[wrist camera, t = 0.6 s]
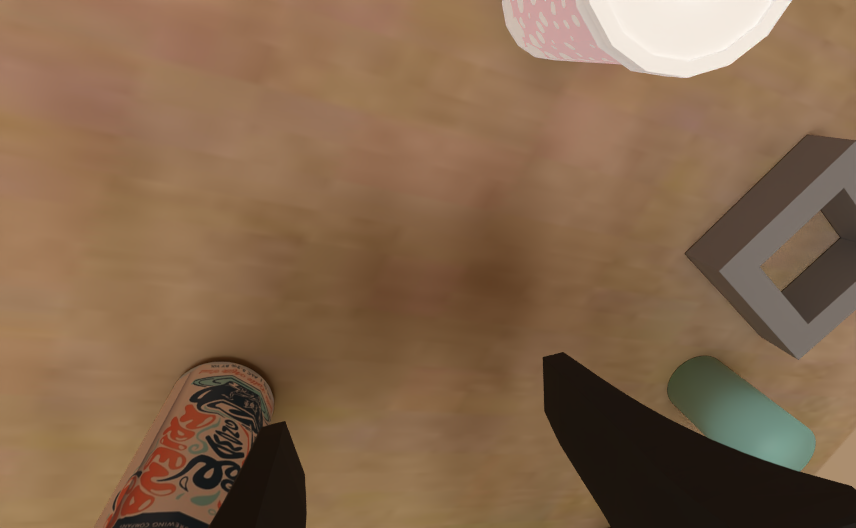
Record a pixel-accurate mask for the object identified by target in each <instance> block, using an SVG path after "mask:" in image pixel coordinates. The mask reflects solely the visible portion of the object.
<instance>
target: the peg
mask: <svg viewBox="0 0 856 528" xmlns="http://www.w3.org/2000/svg"><path fill="white" fill-rule="evenodd" d="M667 391H668V397H669V399H670V401H671V402H672V403H673V404H674V405H675V406H676V407H677V408H678V409H679V410H680V411H681V412H682V413H683V414H684V415H685V416H686V417H687V418H688V419H689V420H690V421H691V422H692V423H693V424H694V425H695V426H696V427H697V428H698V429H699V430H700V431H701V432H702V433H703V434H704V435H705V436H706V437H707V438H710V439H712V440H714V441H717V442H719V443H721V444H724V445H726V446H729V447H731V448H734V449H736V450H739V451H741V452H744V453H746V454H749V455H752V456H755V457H757V458H760V459H763V460H766V461H769V462H772V463H775V464H778V465H781V466H784V467H787V468H790V469H793V470H796V471H799V472H800V471H801V470H802V469H803V468H804V467H805V466H806V465H807V463H808V462H809V460H810V459H811V457H812V455H813V453H814V450H815V443H816V441H815V436H814V434H813V432H812V431H811V430H810V429H809V428H807V427H806V426H805V425H803V424H802V423H801V422H800V421H798V420H797V419H796V418H794V417H793V416H792V415H790V414H789V413H788V412H786V411H785V410H784V409H782V408H781V407H780V406H778V405H777V404H776V403H774V402H773V401H772V400H770V399H769V398H768V397H766V396H765V395H764V394H762V393H761V392H760V391H758V390H757V389H756V388H754V387H753V386H752V385H751V384H749V383H748V382H747V381H745V380H744V379H743V378H741V377H740V376H739V375H737V374H736V373H735V372H733V371H732V370H731V369H729V368H728V367H727V366H725V365H724V364H723V363H721V362H720V361H719V360H717V359H716V358H714V357H711V356H699V357H695V358H692V359H690V360H688V361H686V362H685V363H683V364H682V365H681V366H680V367H678V368H677V370H676V371H675V372H674V373H673V375H672V376H671V378H670V380H669V383H668V390H667Z"/></svg>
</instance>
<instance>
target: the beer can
mask: <svg viewBox="0 0 856 528" xmlns="http://www.w3.org/2000/svg"><path fill="white" fill-rule="evenodd" d="M273 409H274V398H273V395H272V392H271V389H270V387H269V385H268V384H267V383H266V381H265V380H264V379H263V378H262V377H261V376H260V375H259V374H257V373H256V372H255V371H253V370H252V369H250V368H248V367H246V366H243V365H240V364H236V363H231V362H210V363H206V364H202V365H199V366H197V367H194V368H192V369H191V370H189V371H188V372H186V373H185V374H183V375H182V376H181V377H180V378H179V379H178V380H177V382H176V383H175V385H174V386H173V389H172V391H171V392H170V394H169V396H168V398H167V399H166V401H165V403H164V405H163V406H162V408H161V410H160V412H159V413H158V415H157V417H156V419H155V420H154V422H153V424H152V426H151V427H150V429H149V431H148V433H147V435H146V436H145V438H144V440H143V442H142V443H141V445H140V447H139V449H138V450H137V452H136V454H135V456H134V457H133V459H132V461H131V463H130V464H129V466H128V468H127V470H126V471H125V473H124V475H123V477H122V478H121V480H120V482H119V484H118V485H117V487H116V489H115V491H114V492H113V494H112V496H111V498H110V499H109V501H108V503H107V505H106V507H105V508H104V510H103V512H102V514H101V515H100V517H99V519H98V521H97V522H96V524H95V526H94V528H208V526H209V525H210V523H211V521H212V520H213V518H214V516H215V515H216V513H217V511H218V510H219V508H220V506H221V505H222V503H223V501H224V499H225V497H226V496H227V494H228V492H229V490H230V488H231V486H232V484H233V482H234V481H235V479H236V477H237V475H238V473H239V471H240V469H241V467H242V465H243V463H244V461H245V459H246V457H247V455H248V453H249V451H250V449H251V447H252V445H253V442H254V440H255V438H256V436H257V434H258V432H259V430H260V429H261V427H264V426H268V425H270V421H271V417H272V414H273Z"/></svg>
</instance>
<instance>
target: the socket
mask: <svg viewBox="0 0 856 528" xmlns="http://www.w3.org/2000/svg"><path fill="white" fill-rule="evenodd" d="M820 210H821V211H822V212H823V214H824V215H825V216H826V218H827V219H828V221H829V222H830V223H831V225H832V226H833V228H834V229H835V230H836V232H837V233H838V235H839V236H840V237H841V238H840V239H839V240H838V241H837V242H836V243H835V244H833V245H832V246H831V247H830V248H829V249H828V250H827V251H826V252H825V253H824V254H823V255H821V256H820V257H819V258H818V259H817V260H816V261H815V262H814V263H813V264H812V265H811V266H809V267H808V268H807V269H806V270H805V271H804V272H803V273H802V274H801V275H800V276H798V277H797V278H796V279H795V280H794V281H793V282H792V283H791V284H790V285H789V286H788V287H786V288H785V289H784V290H783V291H782V292H780V290H779V289H778V288H777V287H776V286H775V285H774V283H773V282H772V281H771V280H770V279H769V277H768V276H767V275H766V274H765V273H764V272H763V270H762V269H761V268H760V266H761V265H762V264H763V263H764V262H765V261H766V260H767V259H768V258H769V257H770V256H771V255H773V254H774V253H775V252H776V251H777V250H778V249H779V248H780V247H781V246H782V245H783V244H784V243H785V242H786V241H788V240H789V239H790V238H791V237H792V236H793V235H794V234H795V233H796V232H797V231H798V230H799V229H800V228H801V227H803V226H804V225H805V224H806V223H807V222H808V221H809V220H810V219H811V218H812V217H813V216H814V215H815V214H816V213H818V212H819V211H820ZM685 254H686V255H687V257H688V258H689V259H690V260H691V261H692V262H693V263H694V264H695V265H696V266H697V267H698V269H699V270H700V271H701V272H702V273H703V274H704V275H705V276H706V277H707V278H708V279H709V281H710V282H711V283H712V284H713V285H714V286H715V287H716V288H717V289H718V290H719V291H720V292H721V294H722V295H723V296H724V297H725V298H726V299H727V300H728V301H729V302H730V303H731V304H732V306H733V307H734V308H735V309H736V310H737V311H738V312H739V313H740V314H741V315H742V316H743V318H744V319H745V320H746V321H747V322H748V323H749V324H750V325H751V326H752V327H753V328H754V330H755V331H756V332H757V333H758V334H759V335H760V336H761V337H762V338H764V339H765V340H767V341H769V342H770V343H772V344H774V345H775V346H777V347H778V348H780V349H782V350H783V351H785V352H786V353H788V354H790V355H791V356H793V357H795V358H796V359H798V360H799V359H800V358H801V357H802V356H804V355H805V354H806V353H807V352H808V351H809V350H810V349H812V348H813V347H814V346H815V345H816V344H817V343H818V342H820V341H821V340H822V339H823V338H824V337H825V336H826V335H828V334H829V333H830V332H831V331H832V330H833V329H834V328H835V327H837V326H838V325H839V324H840V323H841V322H842V321H843V320H845V319H846V318H847V317H848V316H849V315H850V314H851V313H853V312H854V311H855V310H856V140H848V139H840V138H831V137H823V136H814V135H807V136H806V137H804V138H803V139H802V140H801V141H800V142H799V143H798V144H797V145H796V146H795V147H794V148H793V149H792V150H791V151H790V152H789V153H788V154H787V155H786V156H785V157H784V158H783V159H782V160H781V161H780V162H779V163H778V164H777V165H776V166H775V167H774V168H773V169H772V170H771V171H769V172H768V173H767V174H766V175H765V176H764V177H763V178H762V179H761V180H760V181H759V182H758V183H757V184H756V185H755V186H754V187H753V188H752V189H751V190H750V191H749V192H748V193H747V194H746V195H745V196H744V197H743V198H742V199H741V200H740V201H739V202H738V203H737V204H735V205H734V206H733V207H732V208H731V209H730V210H729V211H728V212H727V213H726V214H725V215H724V216H723V217H722V218H721V219H720V220H719V221H718V222H717V223H716V224H715V225H714V226H713V227H712V228H711V229H710V230H709V231H708V232H707V233H706V234H705V235H704V236H703V237H702V238H700V239H699V240H698V241H697V242H696V243H695V244H694V245H693V246H692V247H691V248H690V249H689V250H688V251H687V252H686V253H685Z"/></svg>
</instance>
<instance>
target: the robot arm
mask: <svg viewBox="0 0 856 528" xmlns="http://www.w3.org/2000/svg"><path fill="white" fill-rule="evenodd" d="M543 379H544V411H545V413H546V416H547V418H548V420H549V422H550V424H551V427H552V429H553V431H554V433H555V435H556V437H557V439H558V441H559V443H560V445H561V447H562V448H563V450H564V452H565V453H566V455H567V456H568V458H569V460H570V461H571V463H572V465H573V466H574V468H575V469H576V471H577V473H578V474H579V476H580V477H581V479H582V480H583V482H584V484H585V485H586V487H587V488H588V490H589V492H590V493H591V495H592V496H593V498H594V500H595V501H596V503H597V504H598V506H599V507H600V509H601V511H602V512H603V514H604V516H605V517H606V519H607V521H608V523H609V524H610V526H611V528H856V489H854V488H853V487H852V486H849V485H846V484H842V483H838V482H835V481H831V480H828V479H824V478H820V477H817V476H813V475H810V474H806V473H802V472H799V471H796V470H793V469H790V468H787V467H784V466H781V465H778V464H775V463H772V462H769V461H766V460H763V459H760V458H757V457H755V456H752V455H749V454H746V453H744V452H741V451H739V450H736V449H734V448H731V447H729V446H726V445H724V444H721V443H719V442H717V441H714V440H712V439H710V438H707V437H705V436H703V435H701V434H698V433H696V432H694V431H692V430H690V429H688V428H686V427H684V426H682V425H680V424H678V423H676V422H674V421H672V420H670V419H668V418H666V417H664V416H662V415H660V414H659V413H657V412H655V411H653V410H652V409H650V408H648V407H646V406H645V405H643V404H641V403H639V402H638V401H636V400H634V399H633V398H631V397H629V396H628V395H626V394H625V393H623V392H622V391H620V390H618V389H617V388H615V387H614V386H612V385H611V384H609V383H608V382H606V381H605V380H603V379H602V378H600V377H599V376H597V375H596V374H594V373H593V372H591V371H590V370H589V369H587V368H586V367H584V366H583V365H581V364H580V363H578V362H577V361H575V360H574V359H573V358H571V357H570V356H568V355H567V354H565V353H564V352H562V353H558V354H554V355H550V356H546V357H543ZM306 513H307V512H306V489H305V474H304V471H303V468H302V466H301V463H300V460H299V457H298V455H297V452H296V449H295V447H294V444H293V441H292V438H291V436H290V433H289V430H288V428H287V425H286V422H285V421H284V422H280V423H276V424H272V425H268V426H264V427H261V429H260V430H259V432H258V434H257V436H256V438H255V440H254V442H253V445H252V447H251V449H250V451H249V453H248V455H247V457H246V459H245V461H244V463H243V465H242V467H241V469H240V471H239V473H238V475H237V477H236V479H235V481H234V482H233V484H232V486H231V488H230V490H229V492H228V494H227V496H226V497H225V499H224V501H223V503H222V505H221V506H220V508H219V510H218V511H217V513H216V515H215V516H214V518H213V520H212V521H211V523H210V525H209V526H208V528H306Z"/></svg>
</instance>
